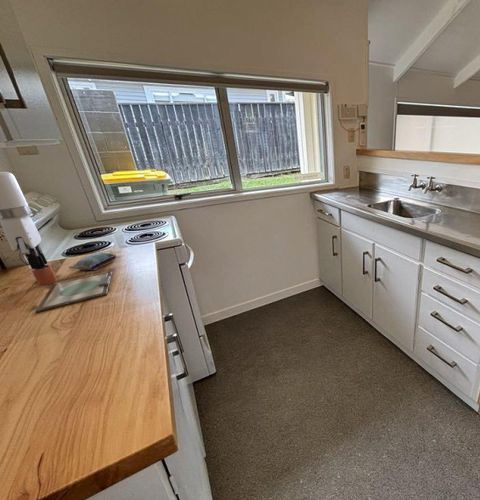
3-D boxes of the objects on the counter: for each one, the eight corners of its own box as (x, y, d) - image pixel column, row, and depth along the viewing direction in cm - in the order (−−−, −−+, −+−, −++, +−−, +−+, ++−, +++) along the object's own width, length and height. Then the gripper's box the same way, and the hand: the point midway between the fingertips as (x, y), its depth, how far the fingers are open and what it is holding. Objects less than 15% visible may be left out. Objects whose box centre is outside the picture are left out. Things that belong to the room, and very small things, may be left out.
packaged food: (71, 273, 104) (65, 261, 102) (100, 260, 115) (95, 249, 113) (92, 274, 103) (87, 261, 101) (119, 260, 114) (115, 249, 112)
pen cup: (37, 287, 95) (29, 271, 92) (41, 282, 98) (33, 267, 96) (56, 283, 97) (48, 268, 95) (59, 278, 100) (51, 263, 98)
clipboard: (35, 313, 80) (33, 309, 79) (53, 285, 95) (51, 282, 95) (107, 295, 88) (105, 291, 88) (112, 272, 104) (111, 269, 103)
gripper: (5, 210, 92) (31, 261, 99) (-16, 220, 80) (15, 278, 87) (37, 206, 96) (60, 256, 103) (22, 215, 84) (49, 271, 91)
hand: (39, 265), depth 95 cm, fingers closed
